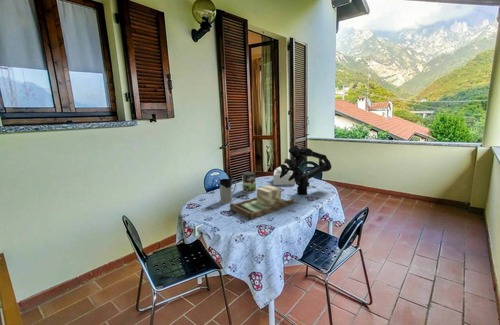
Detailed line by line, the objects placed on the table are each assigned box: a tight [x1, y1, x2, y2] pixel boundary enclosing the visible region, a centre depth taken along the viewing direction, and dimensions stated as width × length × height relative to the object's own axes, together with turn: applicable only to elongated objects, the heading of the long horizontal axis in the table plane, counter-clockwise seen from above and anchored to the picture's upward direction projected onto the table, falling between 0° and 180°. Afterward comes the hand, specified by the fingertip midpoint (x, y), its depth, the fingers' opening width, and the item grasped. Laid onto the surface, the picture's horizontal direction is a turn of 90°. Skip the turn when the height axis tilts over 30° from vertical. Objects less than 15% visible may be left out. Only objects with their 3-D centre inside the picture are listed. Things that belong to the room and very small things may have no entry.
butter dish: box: [272, 163, 296, 186], centre depth 209 cm, size 18×18×16 cm
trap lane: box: [229, 196, 295, 221], centre depth 158 cm, size 36×20×4 cm, turn 126°
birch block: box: [256, 184, 282, 206], centre depth 160 cm, size 11×11×9 cm
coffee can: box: [241, 171, 257, 194], centre depth 190 cm, size 10×10×14 cm
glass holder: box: [219, 178, 237, 204], centre depth 171 cm, size 9×14×15 cm, turn 137°
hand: (284, 179), depth 168 cm, fingers open, 9 cm apart
